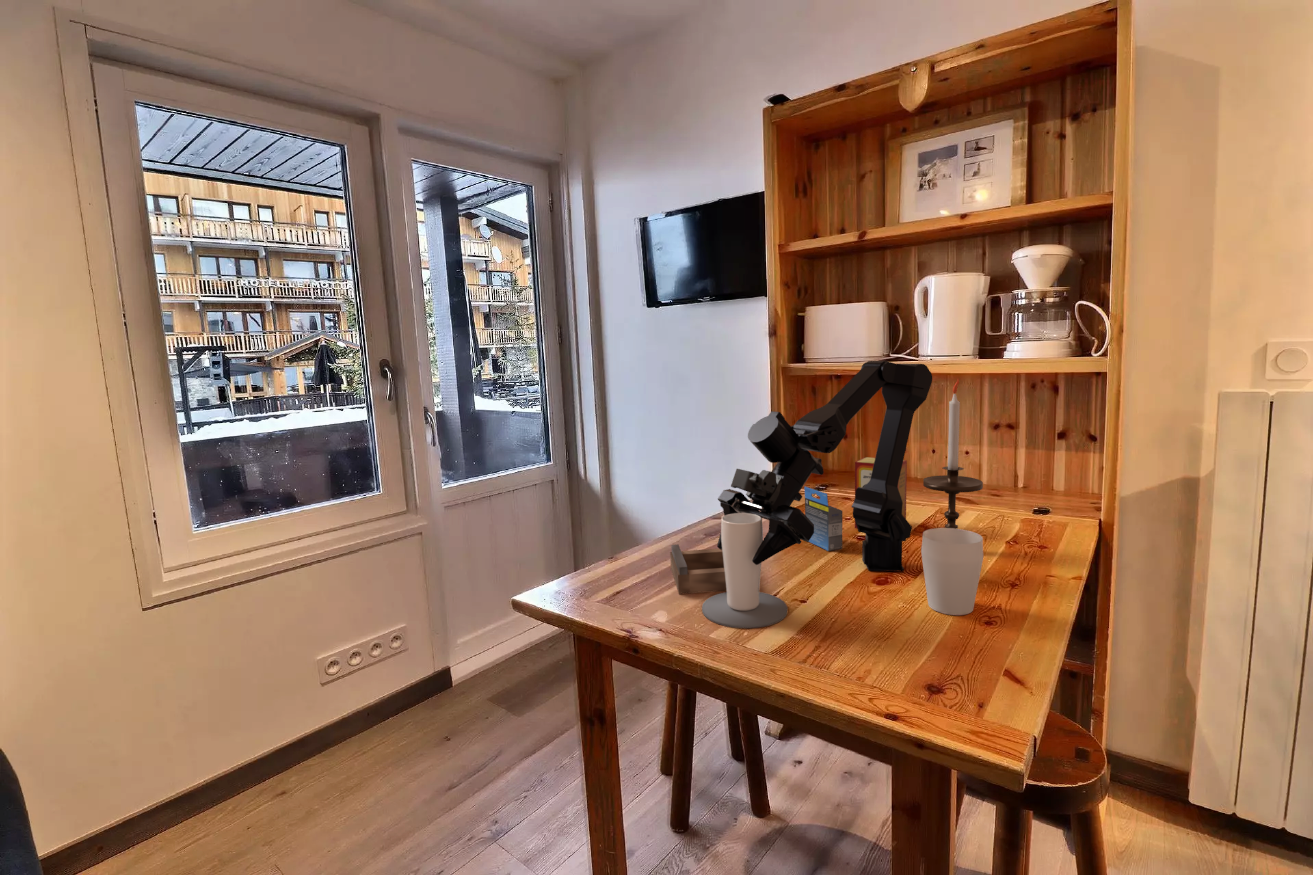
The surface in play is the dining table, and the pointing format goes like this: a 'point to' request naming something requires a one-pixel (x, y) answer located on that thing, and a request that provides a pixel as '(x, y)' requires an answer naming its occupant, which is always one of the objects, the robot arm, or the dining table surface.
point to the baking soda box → (865, 471)
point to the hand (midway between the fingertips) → (736, 555)
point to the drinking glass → (741, 559)
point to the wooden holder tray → (697, 570)
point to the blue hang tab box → (823, 520)
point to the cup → (951, 569)
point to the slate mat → (745, 612)
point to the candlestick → (953, 467)
